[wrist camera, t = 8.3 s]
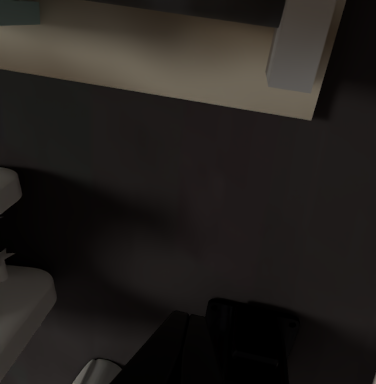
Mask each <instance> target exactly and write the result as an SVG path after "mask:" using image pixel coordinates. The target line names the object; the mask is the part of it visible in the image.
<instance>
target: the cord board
mask: <svg viewBox="0 0 376 384" xmlns="http://www.w3.org/2000/svg"><path fill="white" fill-rule="evenodd" d="M28 1H34V2H39V10H40V24H38V25H10V26H0V69H4V70H10V71H16V72H22V73H28V74H35V75H41V76H47V77H53V78H59V79H65V80H71V81H77V82H83V83H89V84H95V85H101V86H107V87H113V88H119V89H125V90H131V91H137V92H143V93H149V94H155V95H161V96H167V97H173V98H179V99H185V100H191V101H197V102H203V103H209V104H215V105H221V106H227V107H233V108H239V109H246V110H252V111H258V112H264V113H270V114H276V115H282V116H288V117H294V118H300V119H306V120H312V116H313V113H314V109H315V106H316V103H317V99H318V96H319V92H320V89H321V85H322V82H323V79H324V75H325V72H326V68H327V65H328V61H329V58H330V54H331V51H332V48H333V44H334V41H335V37H336V34H337V30H338V27H339V23H340V20H341V17H342V13H343V10H344V6H345V3H346V0H28Z"/></svg>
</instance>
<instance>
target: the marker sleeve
mask: <svg viewBox="0 0 376 384" xmlns="http://www.w3.org/2000/svg"><path fill="white" fill-rule="evenodd" d="M38 24H40V10H39V2H34V1H28V0H0V26H10V25H38Z"/></svg>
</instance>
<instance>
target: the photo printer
mask: <svg viewBox="0 0 376 384" xmlns="http://www.w3.org/2000/svg"><path fill="white" fill-rule="evenodd" d="M121 370H122V369H121V368H120V367H119V366H118V365H116V364H115V363H113V362H111V361H108V360H105V359H97V360H94V359H93V360H91V361H90V362H89V363H88V364H87V365H86V366H85V367H84V368H83V369H82V371H81V372H80V374H79V375H78V376H77V378H76V379H75V381H74V382H73V383H72V384H109V383H110V382H111V381H112V380H113V379H114V378H115V377H116V375H117V374H118V373H119V372H120V371H121Z"/></svg>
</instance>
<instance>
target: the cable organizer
mask: <svg viewBox="0 0 376 384" xmlns="http://www.w3.org/2000/svg"><path fill="white" fill-rule="evenodd" d="M21 197H22V191H21V186H20V182H19V178H18V174H17V173H16V172H15V171H13V170H11V169H8V168H3V167H0V214H2V213H3V212H4V211H5V210H7V209H8V208H9V207H11V206H12V205H13V204H14V203H16V202H17V201H18V200H19V199H20V198H21ZM0 218H2V217H0ZM13 254H15V253H8V254H6V248H5V249H4V250H3V251H1V252H0V382H1V380H2V379H3V378H4V376H5V375H6V373H7V372H8V370H9V369H10V368H11V366H12V365H13V363H14V362H15V360H16V359H17V357H18V356H19V355H20V353H21V352H22V350H23V349H24V347H25V346H26V345H27V343H28V342H29V340H30V339H31V337H32V336H33V334H34V333H35V332H36V330H37V329H38V327H39V326H40V324H41V323H42V322H43V320H44V319H45V317H46V316H47V314H48V313H49V311H50V310H51V309H52V307H53V306H54V304H55V302H56V300H57V295H56V290H55V286H54V281H53V278H52V276H51V275H50V274H49V273H48V272H46V271H44V270H41V269H38V268H32V267H22V266H13V265H6V264H5V261H4V260H5V259H6V258H8V257H10V256H11V255H13Z"/></svg>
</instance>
